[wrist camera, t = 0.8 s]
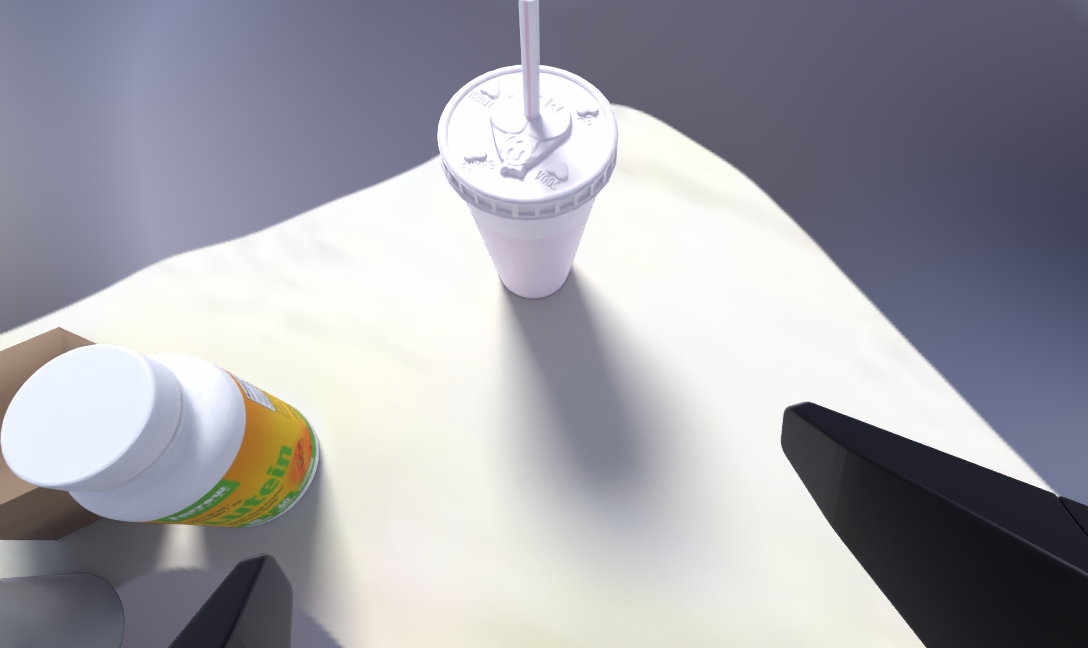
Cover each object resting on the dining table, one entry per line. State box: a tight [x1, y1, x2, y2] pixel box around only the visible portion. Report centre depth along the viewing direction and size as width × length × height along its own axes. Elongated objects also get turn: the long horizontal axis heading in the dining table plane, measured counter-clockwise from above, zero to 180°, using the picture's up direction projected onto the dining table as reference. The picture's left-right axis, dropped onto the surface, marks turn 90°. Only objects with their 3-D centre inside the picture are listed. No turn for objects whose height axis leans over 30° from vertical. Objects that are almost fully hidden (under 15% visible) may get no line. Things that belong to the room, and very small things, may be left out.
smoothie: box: [438, 0, 618, 298], centre depth 20 cm, size 6×6×14 cm
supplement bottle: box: [0, 344, 319, 527], centre depth 18 cm, size 5×5×10 cm
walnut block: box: [0, 327, 103, 540], centre depth 21 cm, size 6×5×5 cm
